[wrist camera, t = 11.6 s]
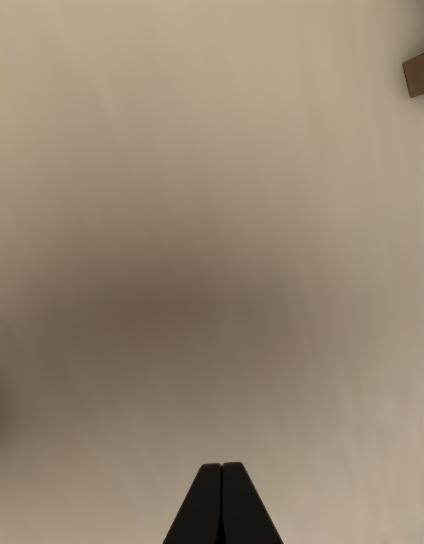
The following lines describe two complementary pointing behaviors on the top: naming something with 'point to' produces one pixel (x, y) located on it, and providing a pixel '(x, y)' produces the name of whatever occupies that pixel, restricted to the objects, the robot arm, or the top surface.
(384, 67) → the top surface
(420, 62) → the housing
